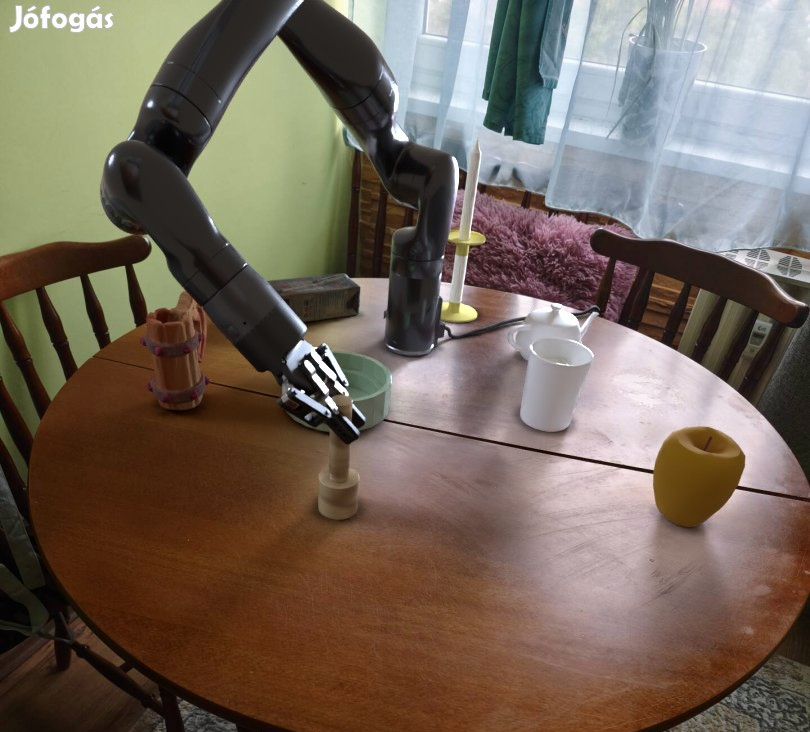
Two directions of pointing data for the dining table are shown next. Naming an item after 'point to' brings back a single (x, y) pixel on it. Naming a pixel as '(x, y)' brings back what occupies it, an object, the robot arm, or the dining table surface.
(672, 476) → the apple
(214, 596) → the dining table surface
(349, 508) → the wooden masher
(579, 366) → the white cup
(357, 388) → the bowl
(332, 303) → the beverage carton
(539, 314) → the teapot
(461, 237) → the candle
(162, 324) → the mug
